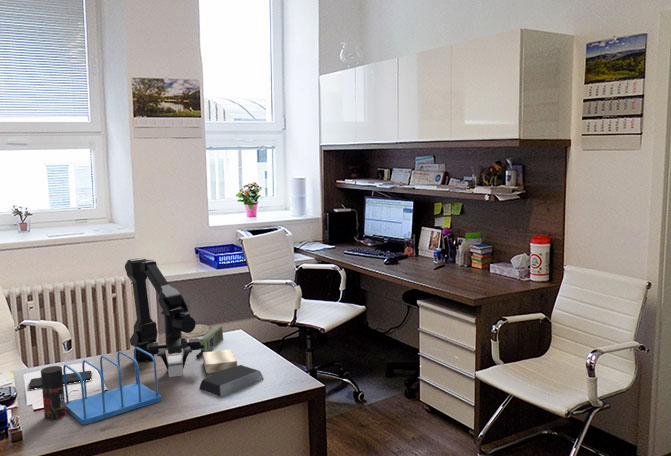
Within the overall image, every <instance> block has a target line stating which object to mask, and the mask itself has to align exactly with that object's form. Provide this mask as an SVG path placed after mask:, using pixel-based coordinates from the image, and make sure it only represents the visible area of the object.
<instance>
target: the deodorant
mask: <svg viewBox="0 0 671 456" xmlns="http://www.w3.org/2000/svg"><path fill="white" fill-rule="evenodd" d="M63 374H64V373H63V367H62V366H60V365H53V366H51V365H50V366H47V367H43V368H42V369H41V370H40V376H41V377H40V378H41V380H42V388H41V390H42V400H43V401H42V402H43V403H42V404H43V413H44V414H43V415H44V419H45V421H56V420H60V419H63V418H64V417H66V415H67V414H66V413H67V410H66V409H65V403H66V401H65V400H66V397H65V385H63Z"/></svg>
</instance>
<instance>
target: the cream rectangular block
mask: <svg viewBox="0 0 671 456" xmlns="http://www.w3.org/2000/svg"><path fill="white" fill-rule="evenodd" d="M202 359H203V360H202V361H203V365H204V369H205V372H206V374H208V376H210V375H212V374H214V373H217V372H219V371H222V370H225V369H228V368H231V367H235V366H238V360H237V358H236V355H235V353H234V350H233V348H232V349H230V348H229V349H221V350H213V351H212V350H211V351H209V352H203V354H202Z"/></svg>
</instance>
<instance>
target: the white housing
mask: <svg viewBox="0 0 671 456" xmlns="http://www.w3.org/2000/svg"><path fill="white" fill-rule="evenodd" d="M166 357H167V362H168V370H167V373H168V377H169V378H173V377H180V376H181V377H183V376H184V369H183V361H182V358H183V354H177V355H170V356H166Z"/></svg>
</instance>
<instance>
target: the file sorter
mask: <svg viewBox="0 0 671 456" xmlns="http://www.w3.org/2000/svg"><path fill="white" fill-rule="evenodd" d="M136 349H137V350H139V351H141V352H143V353H145V354H147V355H149V356H150V357H151V358H152V363H153V371H154V384H155V386H154V387H155V391H154V390H153V389H150V388H149V387H147V386H146V385H145V384H143V383H142V382H141V380H140V379H141V378H140V367H139V362H137V361H136ZM120 354H121V355H122V356H125V357H126V358H128V359H129V360H132V361H133V362H134V373H135V376H134V377H135V382H134V383H131V384H127V385H123V381H122V371H121V364H120V363H121V362H120ZM116 358H117V362H115V361H114V360H112V359H111V358H109V357H107V356H106V355H101V356H100V358H99V365H100V368H99V367H98V366H96V365H95V364H93V363H91V362H90V361H88V360H87V359H84V360H83V361H82V364H81V367H82V372H83V380H82V377H81V375H80V374H79V373H78V372H79V371H77V370H75V369H73V368H72V367H71V366H70V365H68V364H64V365H63V367H62V374H64V383H65V385H64V393H65V400H66V401H65V410H66V412H67V413H69V414H70V415H71V416H72V417H74V418H75V419H76V420H77V421H78V422H79V423H80V424H82V426H84V425H87V424H88V425H89V424H91V423H96V422H98V421H100V420H104V419H107V418H111V417H114V416H117V415H121V414H123V413H126V412H130V411H132V410H135V409H136V410H137V409H139V408H142V407H145V406H149V405H152V404H155V403H159V402H161V401H162V395H161V394H159V389H158V388H159V387H158V375H157V362H156V360H155V356H154V357H153V356H152V355H151V354H149V353H148V352H146V351H144V350H142V349H140V348H138V347H136V348H135V347H134V349H133V357H132V356H130V355H129V354H127V353H126V352H123V351H122V350H121V351H118V352H117V355H116ZM103 359H104V360H106V361H108V362H110V363H111V364H113V365H114V366H115V367H116V369H117V371H118V383H119V385H118V386H119V387H116V388H113V389H109V390H106V391H105V381H104V367H103ZM85 364H87V365H89V366H90V367H92V368H94V369H95V370H96V371H98V374H99V378H100V387H101V392H99V393H95V394H91V395H88V394H87V382H86V380H85V371H86V370H85ZM66 368H67V369H69V370H70V371H71V372H72V373H75V374H77V375H78V376H79V378H80V389H81V398H78V399H74V400H71V401H69V394H68V393H69V392H68V384H67V382H66V374H67V373H66ZM83 381H84V382H83Z"/></svg>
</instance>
